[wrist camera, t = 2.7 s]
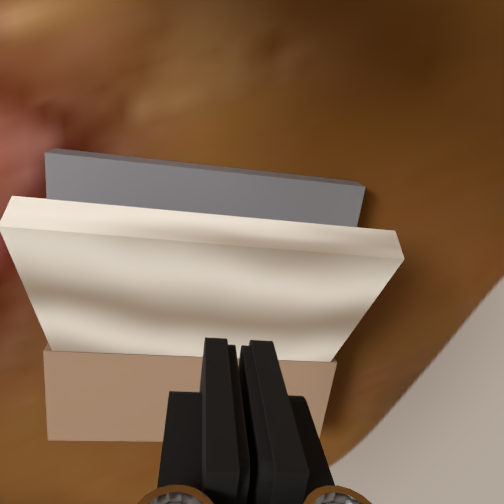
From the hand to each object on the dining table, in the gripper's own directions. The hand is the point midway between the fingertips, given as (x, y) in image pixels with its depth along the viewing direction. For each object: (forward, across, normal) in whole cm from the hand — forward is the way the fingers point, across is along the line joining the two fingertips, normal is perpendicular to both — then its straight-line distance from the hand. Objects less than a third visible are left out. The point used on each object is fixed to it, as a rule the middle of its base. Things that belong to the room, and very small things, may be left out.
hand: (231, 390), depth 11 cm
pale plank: (+10, 0, +2) cm, 10 cm away
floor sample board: (+14, 0, +5) cm, 15 cm away
